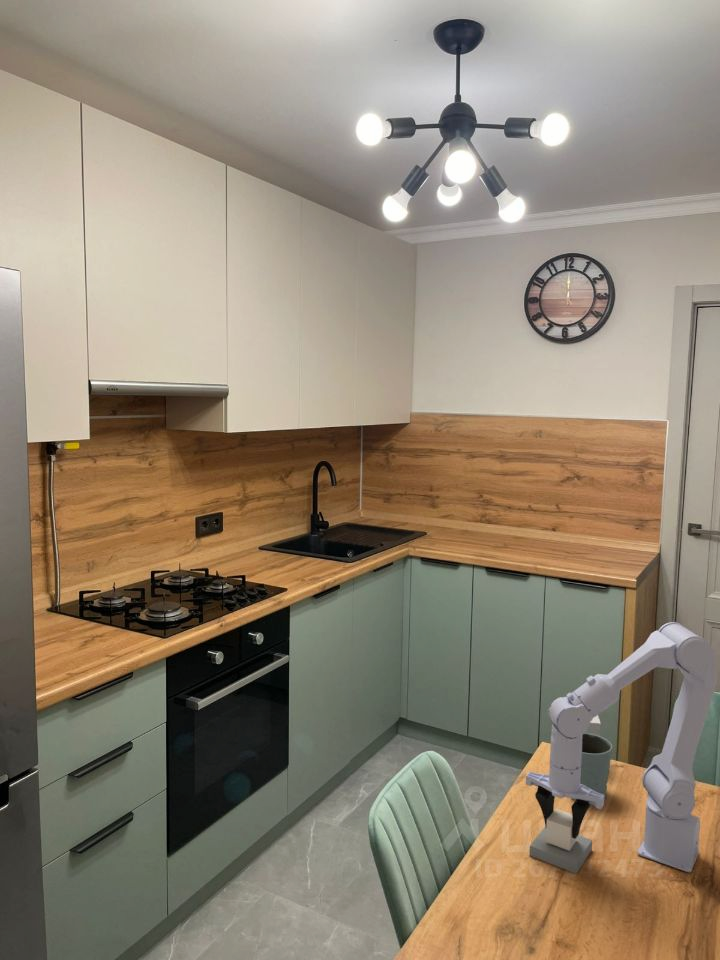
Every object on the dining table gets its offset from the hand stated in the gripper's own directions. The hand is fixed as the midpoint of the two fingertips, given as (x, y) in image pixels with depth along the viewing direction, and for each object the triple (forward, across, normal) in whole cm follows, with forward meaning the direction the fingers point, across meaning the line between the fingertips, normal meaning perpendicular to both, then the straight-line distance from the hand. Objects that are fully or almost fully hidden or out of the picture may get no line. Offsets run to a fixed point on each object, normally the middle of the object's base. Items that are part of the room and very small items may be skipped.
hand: (561, 830), depth 138 cm
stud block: (+4, 0, 0) cm, 4 cm away
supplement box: (+5, -8, +36) cm, 37 cm away
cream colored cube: (+2, 0, 0) cm, 2 cm away
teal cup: (+5, -3, +24) cm, 25 cm away
